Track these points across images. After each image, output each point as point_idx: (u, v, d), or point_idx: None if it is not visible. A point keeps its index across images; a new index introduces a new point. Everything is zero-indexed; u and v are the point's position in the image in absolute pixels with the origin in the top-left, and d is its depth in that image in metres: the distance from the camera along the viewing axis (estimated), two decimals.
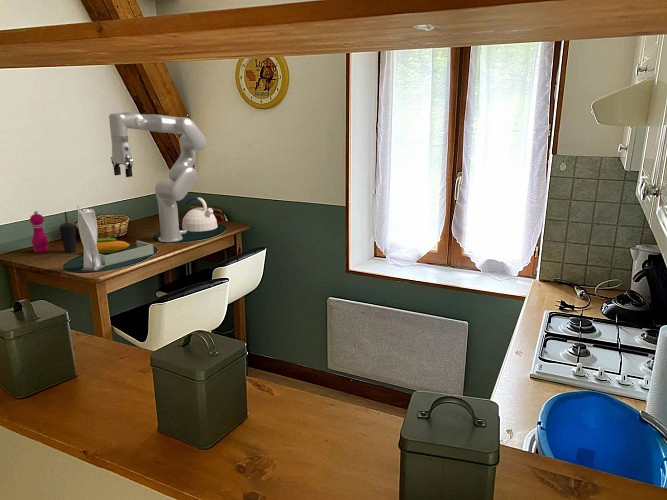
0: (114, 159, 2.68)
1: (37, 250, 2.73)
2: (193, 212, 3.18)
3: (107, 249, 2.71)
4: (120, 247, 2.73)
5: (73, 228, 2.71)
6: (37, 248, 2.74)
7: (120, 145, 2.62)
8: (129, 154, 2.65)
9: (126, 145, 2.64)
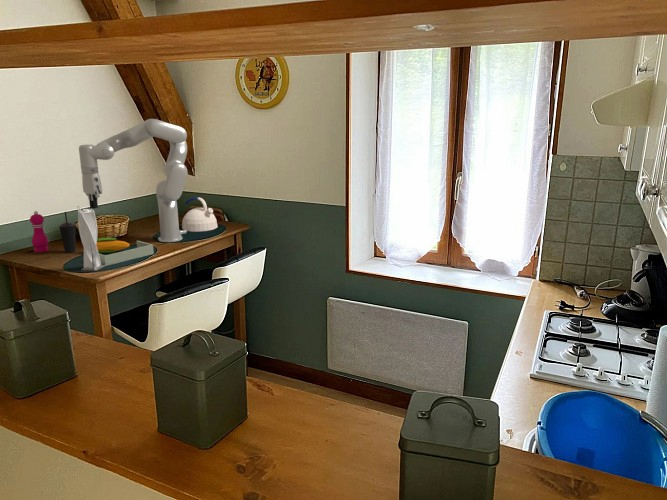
0: (84, 189, 2.71)
1: (37, 250, 2.73)
2: (193, 212, 3.18)
3: (107, 249, 2.71)
4: (120, 247, 2.73)
5: (73, 228, 2.71)
6: (37, 248, 2.74)
7: (90, 176, 2.66)
8: (99, 185, 2.68)
9: (96, 176, 2.67)
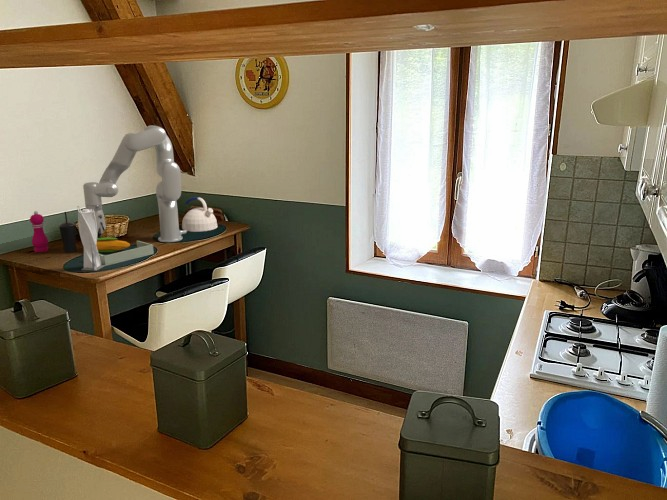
0: None
1: (37, 250, 2.73)
2: (193, 212, 3.18)
3: (107, 248, 2.72)
4: (120, 247, 2.73)
5: (73, 228, 2.71)
6: (37, 248, 2.74)
7: None
8: (103, 221, 2.73)
9: (100, 213, 2.72)
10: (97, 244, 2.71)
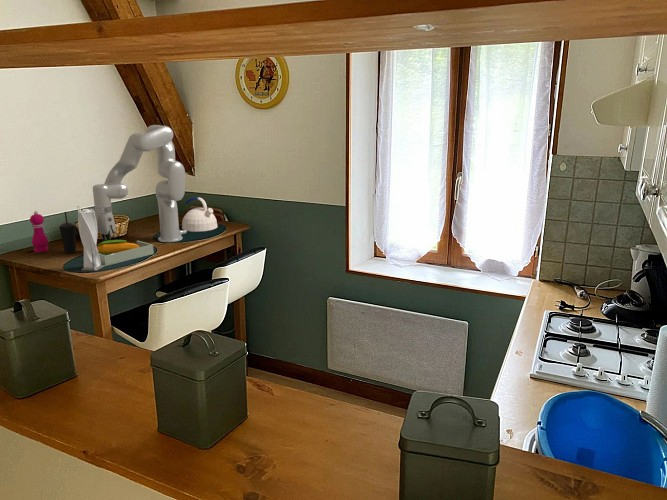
0: (98, 228, 2.71)
1: (37, 250, 2.73)
2: (193, 212, 3.18)
3: (117, 251, 2.67)
4: (130, 249, 2.69)
5: (73, 228, 2.71)
6: (37, 248, 2.74)
7: (103, 216, 2.66)
8: (112, 224, 2.68)
9: (109, 216, 2.67)
10: (106, 247, 2.65)
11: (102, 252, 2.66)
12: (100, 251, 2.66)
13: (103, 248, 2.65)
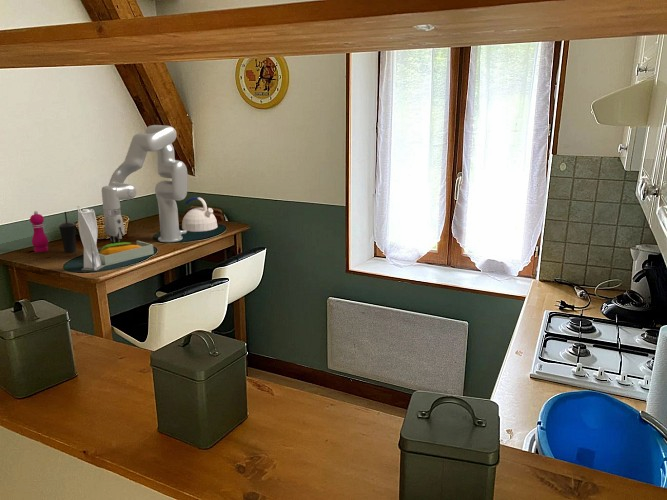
0: (106, 230, 2.66)
1: (37, 250, 2.73)
2: (193, 212, 3.18)
3: None
4: None
5: (73, 228, 2.71)
6: (37, 248, 2.74)
7: (112, 218, 2.61)
8: (121, 226, 2.63)
9: (118, 218, 2.62)
10: (111, 250, 2.60)
11: None
12: None
13: (109, 251, 2.59)
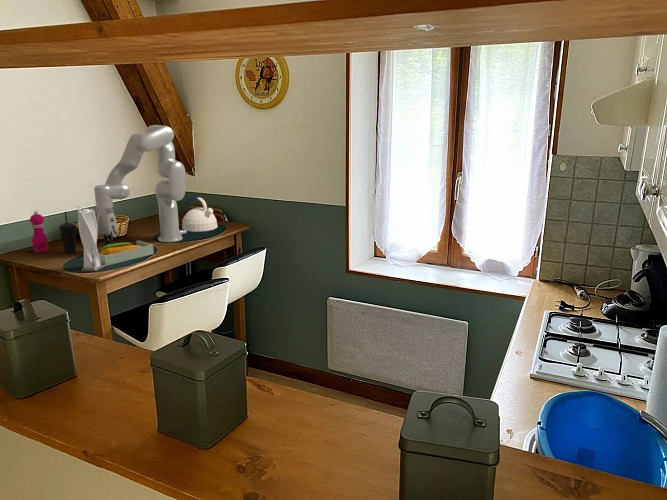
0: (99, 229, 2.70)
1: (37, 250, 2.73)
2: (193, 212, 3.18)
3: None
4: None
5: (73, 228, 2.71)
6: (37, 248, 2.74)
7: (105, 217, 2.65)
8: (114, 225, 2.68)
9: (111, 216, 2.66)
10: (111, 250, 2.60)
11: None
12: None
13: (109, 251, 2.59)
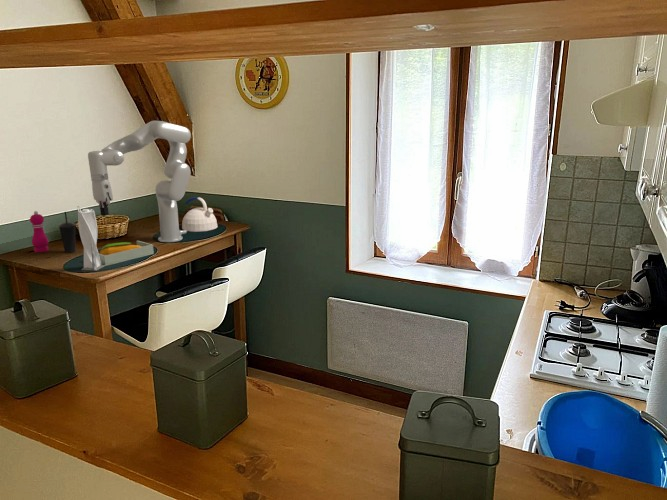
0: (95, 196, 2.67)
1: (37, 250, 2.73)
2: (193, 212, 3.18)
3: None
4: None
5: (73, 228, 2.71)
6: (37, 248, 2.74)
7: (100, 183, 2.62)
8: (109, 191, 2.65)
9: (106, 183, 2.63)
10: (111, 250, 2.61)
11: None
12: (105, 254, 2.60)
13: (109, 251, 2.60)
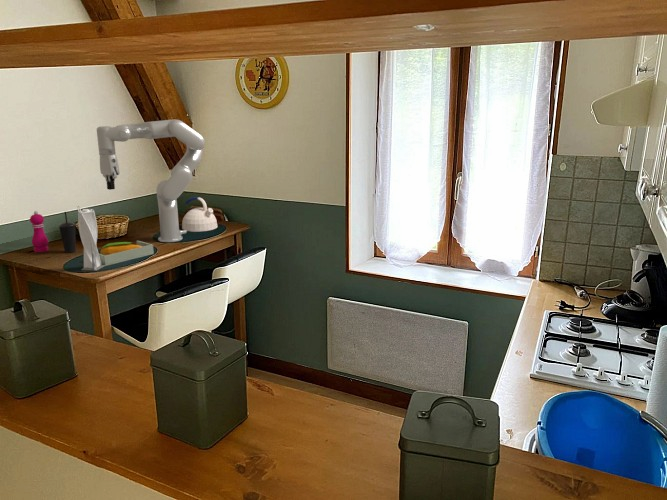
0: (102, 170, 2.77)
1: (37, 250, 2.73)
2: (193, 212, 3.18)
3: None
4: None
5: (73, 228, 2.71)
6: (37, 248, 2.74)
7: (107, 157, 2.71)
8: (116, 166, 2.74)
9: (113, 157, 2.72)
10: (111, 249, 2.62)
11: None
12: (105, 254, 2.62)
13: (108, 250, 2.61)
